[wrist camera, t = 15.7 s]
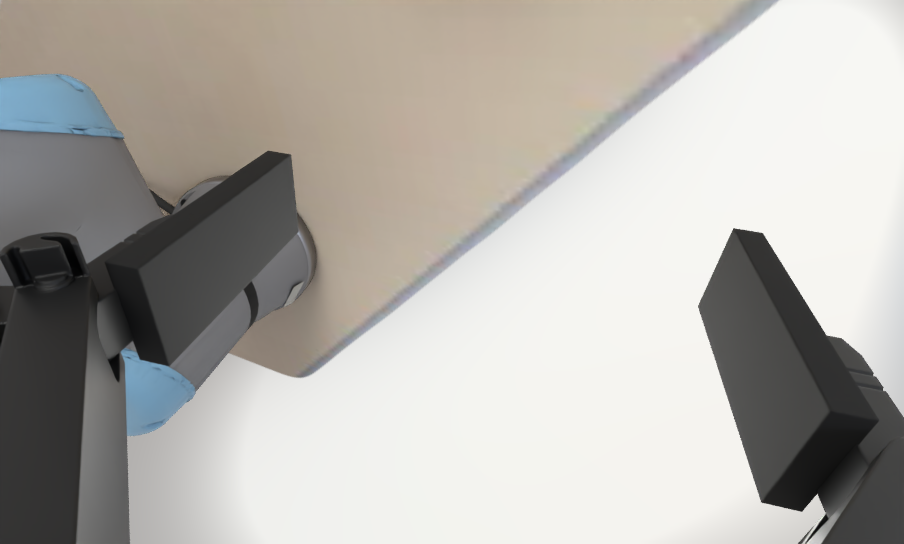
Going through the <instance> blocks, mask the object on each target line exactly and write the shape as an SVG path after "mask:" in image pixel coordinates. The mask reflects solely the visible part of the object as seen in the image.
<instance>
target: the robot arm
mask: <svg viewBox="0 0 904 544" xmlns="http://www.w3.org/2000/svg"><path fill="white" fill-rule="evenodd" d="M123 139H124V136H123V134H122V133H121V132H120V131H118V130H117V129H116V127H115V126H114V124H113V123H112V121H111V119H110V118H109V116H108V115H107V113H106V112H105V110H104V108H103V107H102V105H101V103H100V101H99V100H98V98H97V96H96V95H95V93H94V92H93V91H92V90H91V89H90V88H89V87H88V86H87V85H86V84H85V83H83V82H81V81H80V80H78V79H76V78H73V77H71V76H67V75H62V74H42V75H29V76H19V77H8V78H0V544H130V535H129V498H128V459H127V436H136V435H142V434H146V433H149V432H152V431H154V430H156V429H158V428H159V427H161V426H162V425H164V424H165V423H166V422H167V421H168V420H169V419H170V418H171V417H172V416H173V414H175V413H176V412H177V411H178V410H179V409H180V408H181V407H182V406H183V405H184V404H185V403H186V402H188V401H190V400H191V399H192V398H193V396H194V395H195V392H196V391H197V390H198V389H199V387H200V386H201V385H202V384H203V382H204V381H205V380H206V379H207V378H208V377H209V375H210V374H211V373H212V371H214V369H215V368H216V367H217V366H218V365H219V363H220V362H221V361H222V360H223V358H224V357H225V356H226V355H227V354H228V353H229V351H230V350H231V349H232V348H233V347H234V345H235V344H236V343H237V342H238V341H239V339H240V338H241V337H242V336H243V335H244V333H245V332H246V331H247V330H248V329H249V328H250V327H251V325H252V324H253V323H254V322H256V321H258V320H259V319H261V318H263V317H265V316H266V315H268V314H269V313H270V312H272V311H273V310H277V309H280V308H282V307H283V308H284V307H286V306H288V305H289V304H291V303H293V302H294V301H295V300H296V299H297V298H298V297H299V296H300V295H301V294H302V292H303V291H304V290H305V289H306V287H307V286H308V285H309V283H310V282H311V280H312V278H313V275H314V272H315V268H316V251H315V247H314V243H313V240H312V237H311V235H310V232H309V230H308V229H307V227H306V225H305V223H304V222H303V220H302V219H301V217H300V216H299V215H298V213H297V210H296V200H295V190H294V180H293V170H292V160H291V155H290V154H284V153H278V152H272V151H267V152H265V153H264V154H263V155H261V156H260V157H258V158H257V159H255V160H254V161H252V162H251V163H249V164H248V165H246V166H245V167H243V168H242V169H240V170H239V171H237V172H236V173H234V174H233V175H232V176H219V177H213V178H210V179H207V180H205V181H203V182H201V183H200V184H198V185H197V186H195V187H194V188H192V189H190V190H189V191H187V192H186V193H185V194H184V195H183V196H182V197H181V199H180V200H179V202H178V203H177V205H176V207H173V206H172V205H170V204H169V203H167V202H166V201H165V200H163V199H162V198H160V197H159V196H158V195H156V194H155V193H154V192H153V191H151V190H150V189H149V188H148V186H147V184H146V183H145V181H144V179H143V177H142V175H141V173H140V171H139V169H138V167H137V165H136V164H135V162H134V160H133V158H132V156H131V154H130V152H129V150H128V148H127V146H126V144H125V143H124V141H123ZM159 207H161V208H162V209H164V210H165V211H167V212H168V213H169V214H170V215H168V216H165V217H164V215H163V214H162V212H161V210H160V208H159ZM698 308H699V311H700V314H701V317H702V320H703V323H704V326H705V329H706V333H707V336H708V339H709V342H710V345H711V348H712V351H713V354H714V357H715V360H716V363H717V367H718V370H719V373H720V376H721V379H722V382H723V385H724V388H725V391H726V394H727V397H728V400H729V403H730V407H731V410H732V413H733V416H734V419H735V422H736V425H737V428H738V431H739V435H740V438H741V440H742V444H743V447H744V450H745V453H746V456H747V459H748V462H749V465H750V468H751V472H752V474H753V478H754V481H755V484H756V487H757V490H758V493H759V496H760V500H761V502H762V503H766V504H771V505H775V506H780V507H784V508H788V509H792V510H797V511H801V512H802V511H803V510H804V508H805V507H806V506H807V505H808V504H809V503H810V502H811V500H812V499H813V498H814V497H815V496H816V495H817V494H818V496H819V498H820V501H821V503H822V505H823V508H824V510H825V512H826V513H825V514H824V515H823V516H822V517H821V519H820V520H819V521H818V522H817V523H816V524H815V525H814V526H813V527H812V529H811V530H810V531H809V532H808V533H807V534H806V535H805V536H804V538H803V539H802V540H801V541H800V542H799V543H798V544H904V417H903V416H902V414H901V413H900V412H899V410H898V408H897V407H896V405H895V404H894V403H893V401H892V400H891V398H890V397H889V395H888V394H887V392H886V391H883V386H882V385H881V383H880V382H879V380H878V379H877V378H876V377H875V376H873V372H872V370H871V369H870V367H869V366H868V364H867V363H866V361H865V360H864V358H863V357H862V355H860V354H859V353H858V352H857V351H856V350H854V349H853V348H852V347H851V346H850V345H849V344H847V343H846V342H845V341H844V340H843V339H842V338H837V337H831V336H826V334H825V332H824V331H823V329H822V328H821V326H820V325H819V323H818V321H817V320H816V318H815V316H814V315H813V313H812V312H811V310H810V309H809V307H808V305H807V304H806V302H805V300H804V299H803V297H802V295H801V294H800V292H799V291H798V289H797V287H796V286H795V284H794V283H793V281H792V279H791V278H790V276H789V275H788V273H787V272H786V270H785V268H784V267H783V265H782V263H781V262H780V260H779V259H778V257H777V255H776V254H775V252H774V251H773V249H772V247H771V246H770V244H769V243H768V241H767V239H766V238H765V236H764V235H763V233H759V232H753V231H747V230H740V229H735V228H734V229H733V231H732V233H731V235H730V237H729V239H728V242H727V244H726V246H725V248H724V250H723V253H722V255H721V257H720V259H719V261H718V264H717V266H716V268H715V270H714V272H713V275H712V277H711V279H710V281H709V283H708V286H707V288H706V290H705V292H704V295H703V297H702V299H701V301H700V303H699V305H698Z"/></svg>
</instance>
